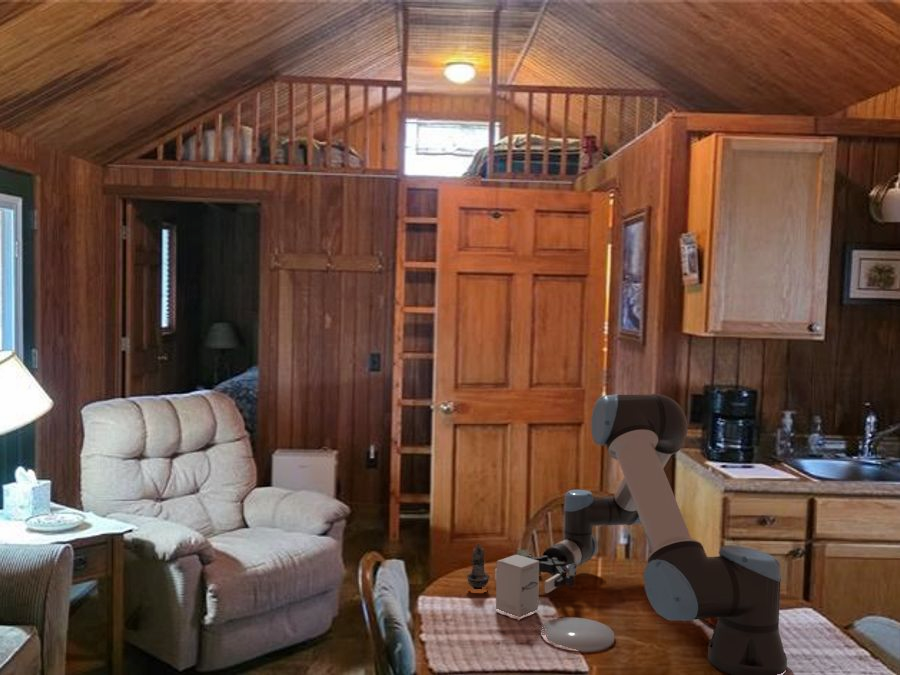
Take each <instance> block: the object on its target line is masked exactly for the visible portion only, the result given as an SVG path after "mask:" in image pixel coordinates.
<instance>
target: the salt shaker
mask: <svg viewBox="0 0 900 675" xmlns="http://www.w3.org/2000/svg"><path fill="white" fill-rule="evenodd" d="M472 549H473V550H472V560H471V564H472V569H471V572H470V573H468V574H467V575H466V578H467V582H468V584H469V585H470V587H471V586H472V587H473V588H474V589H482V587H486V586H487V585H488V583H489V579H490V575H489V574H487V573H486V572H485V564H486V560H485V549H484V548H483V547H481V544H480V543H478V544H477V546H476V547H474V548H472Z"/></svg>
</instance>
